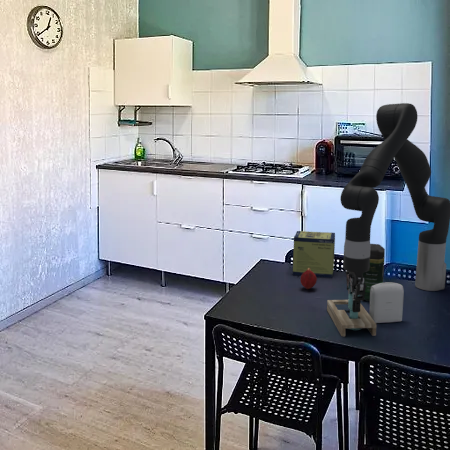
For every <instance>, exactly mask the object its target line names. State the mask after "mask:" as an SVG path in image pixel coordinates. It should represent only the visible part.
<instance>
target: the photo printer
mask: <svg viewBox="0 0 450 450" xmlns="http://www.w3.org/2000/svg"><path fill="white" fill-rule="evenodd" d="M404 291H405V290H404V286H403V285H402V284H400V283H397V282H391V281H390V282H388V281H387V282H383V283H379V284H376V285H373V286H371V289H370V301H369V312H368V314H369V315H370V316H371V318H372V319H373V320H374V322H375V323H376V324H380V323H396V322H402V321H403V311H404V309H403V308H404V293H405V292H404Z"/></svg>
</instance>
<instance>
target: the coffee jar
mask: <svg viewBox="0 0 450 450" xmlns="http://www.w3.org/2000/svg"><path fill="white" fill-rule="evenodd" d="M385 251H386V250H385V247H383V246H382V245H381V244H379V243H378V244H377V243H370V267H369V270H368V271H367V272H364V273H363V277H364V283H363V284H366V290H365V295H364V300H363V301H366V302H370V289H371V286H373V285H376V284H379V283H384V275H385V274H384V272H385V257H386V256H385Z"/></svg>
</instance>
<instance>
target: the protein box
mask: <svg viewBox="0 0 450 450" xmlns="http://www.w3.org/2000/svg"><path fill="white" fill-rule="evenodd" d="M335 244H336V233H335V232H328V231H327V232H323V231H322V232H321V231H307V230H298V231H296V232H295V235H294V237H293V251H292V252H293V253H292V254H293V257H292V260H293V261H292V275H293V276H300V277H301V275H302V274H303V273H304V272H305V271H307V268H310V270H311V271H312V272H313V273H314V274H315V275H316V278H329V279H332V278H333V275H334V267H335V266H334V265H335V250H336V249H335V248H336V247H335V246H336V245H335Z"/></svg>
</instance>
